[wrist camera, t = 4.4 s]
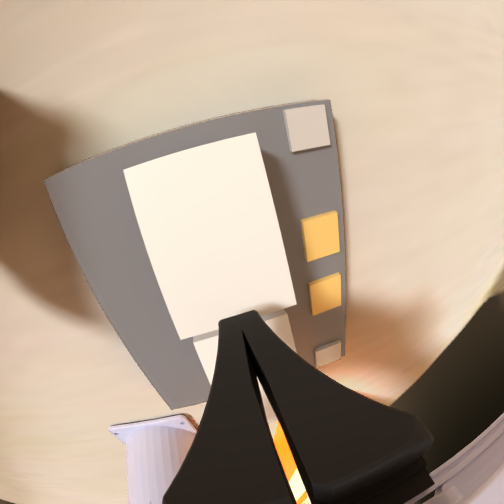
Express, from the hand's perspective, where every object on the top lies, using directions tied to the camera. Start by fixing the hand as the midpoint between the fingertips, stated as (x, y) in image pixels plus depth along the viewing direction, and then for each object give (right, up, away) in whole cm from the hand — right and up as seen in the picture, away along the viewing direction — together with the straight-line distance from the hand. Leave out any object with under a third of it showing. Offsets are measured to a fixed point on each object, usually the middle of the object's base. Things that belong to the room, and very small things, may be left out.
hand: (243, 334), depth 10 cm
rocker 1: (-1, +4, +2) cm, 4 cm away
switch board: (-1, +1, +7) cm, 7 cm away
